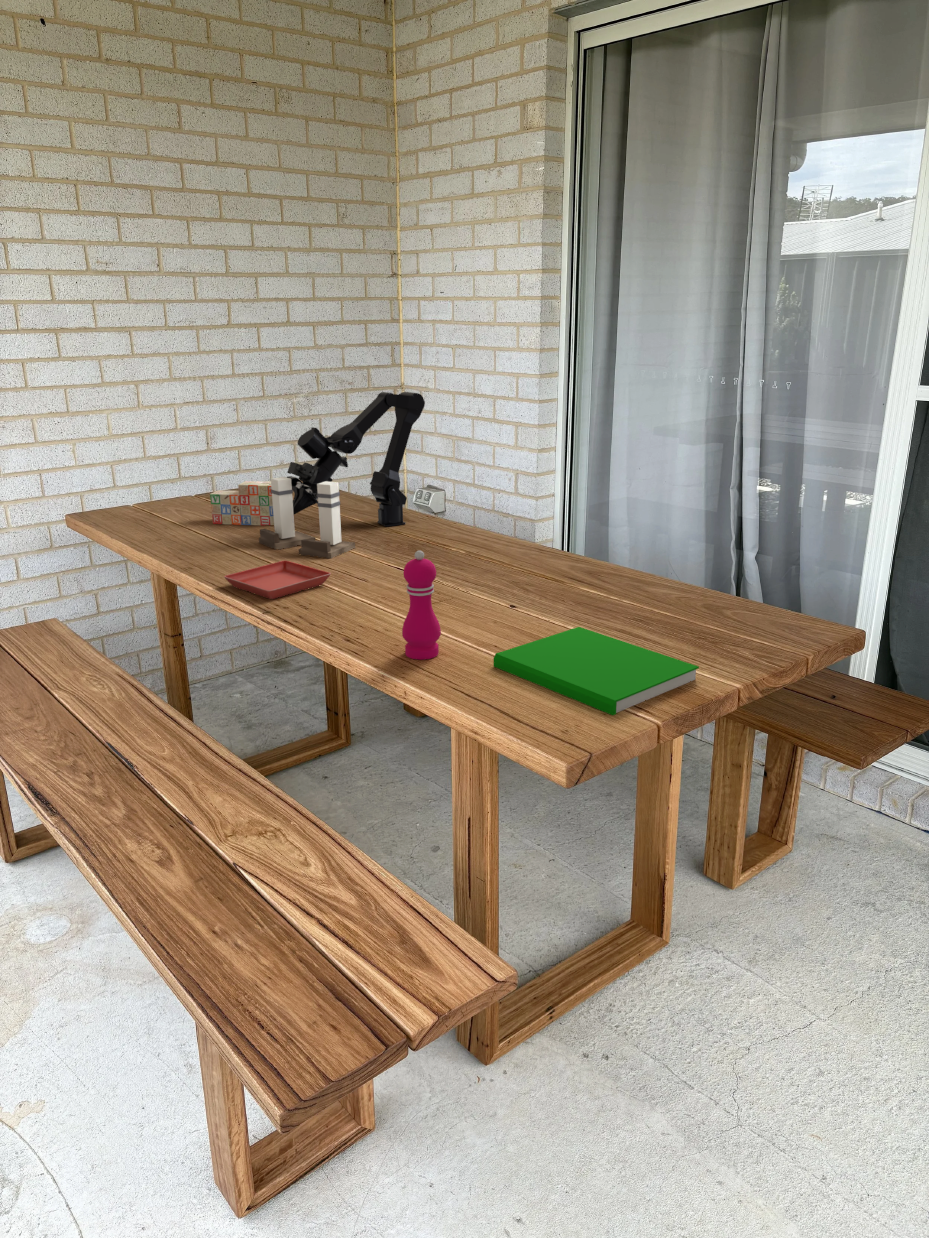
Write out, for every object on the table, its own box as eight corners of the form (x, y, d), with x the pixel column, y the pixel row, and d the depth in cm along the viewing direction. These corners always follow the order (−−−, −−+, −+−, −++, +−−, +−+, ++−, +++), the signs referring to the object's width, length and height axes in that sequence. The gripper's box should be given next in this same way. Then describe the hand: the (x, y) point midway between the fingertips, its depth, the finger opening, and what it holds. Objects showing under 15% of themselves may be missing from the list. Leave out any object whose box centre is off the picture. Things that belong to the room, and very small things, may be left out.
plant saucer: (270, 604, 207) (268, 590, 206) (223, 588, 218) (222, 575, 217) (333, 586, 219) (332, 572, 218) (286, 572, 231) (285, 559, 230)
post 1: (288, 533, 260) (284, 476, 255) (295, 536, 257) (291, 478, 252) (274, 536, 257) (269, 478, 252) (281, 539, 254) (277, 480, 249)
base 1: (297, 536, 265) (296, 522, 264) (315, 542, 258) (314, 528, 256) (259, 543, 258) (258, 528, 257) (276, 549, 251) (275, 535, 249)
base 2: (323, 544, 256) (323, 530, 255) (355, 547, 252) (354, 533, 251) (298, 554, 246) (297, 539, 244) (331, 558, 242) (330, 543, 240)
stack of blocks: (212, 524, 281) (208, 483, 277) (220, 520, 287) (216, 480, 283) (280, 526, 278) (277, 485, 274) (287, 521, 284) (284, 481, 280)
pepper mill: (402, 648, 179) (398, 546, 172) (440, 646, 179) (438, 545, 173) (403, 661, 172) (399, 556, 165) (442, 660, 172) (440, 555, 166)
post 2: (328, 540, 252) (325, 481, 247) (342, 541, 251) (339, 482, 246) (319, 543, 249) (316, 484, 244) (333, 545, 247) (330, 485, 242)
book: (578, 641, 183) (578, 626, 182) (697, 682, 162) (699, 666, 162) (493, 669, 169) (493, 654, 168) (612, 718, 149) (613, 701, 148)
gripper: (287, 447, 261) (254, 491, 258) (322, 454, 247) (287, 501, 244) (313, 472, 268) (282, 515, 265) (348, 481, 255) (315, 526, 252)
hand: (290, 514), depth 256 cm, fingers closed, pressing on post 1
